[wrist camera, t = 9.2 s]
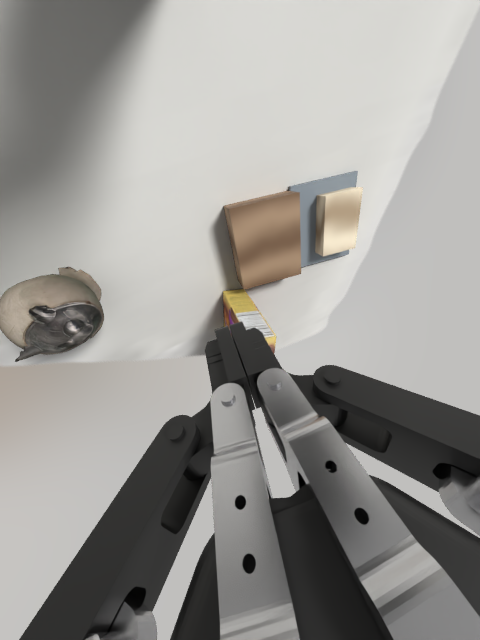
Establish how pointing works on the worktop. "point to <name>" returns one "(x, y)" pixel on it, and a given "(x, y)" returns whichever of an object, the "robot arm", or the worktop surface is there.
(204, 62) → the worktop surface
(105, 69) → the worktop surface
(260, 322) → the candy box
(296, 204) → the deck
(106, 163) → the worktop surface
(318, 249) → the tile
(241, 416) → the robot arm
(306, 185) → the mat
